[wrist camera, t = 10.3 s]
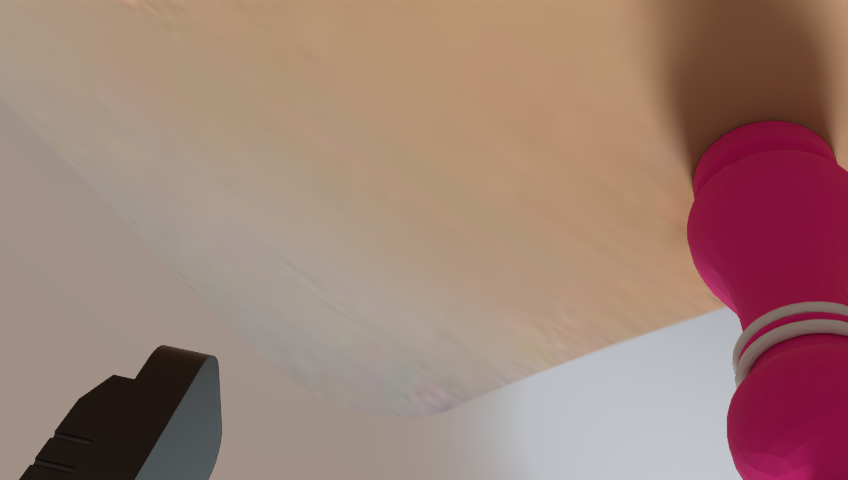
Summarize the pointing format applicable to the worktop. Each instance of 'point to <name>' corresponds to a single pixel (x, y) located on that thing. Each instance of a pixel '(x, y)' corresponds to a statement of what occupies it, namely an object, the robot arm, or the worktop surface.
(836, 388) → the pepper mill
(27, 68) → the worktop surface
